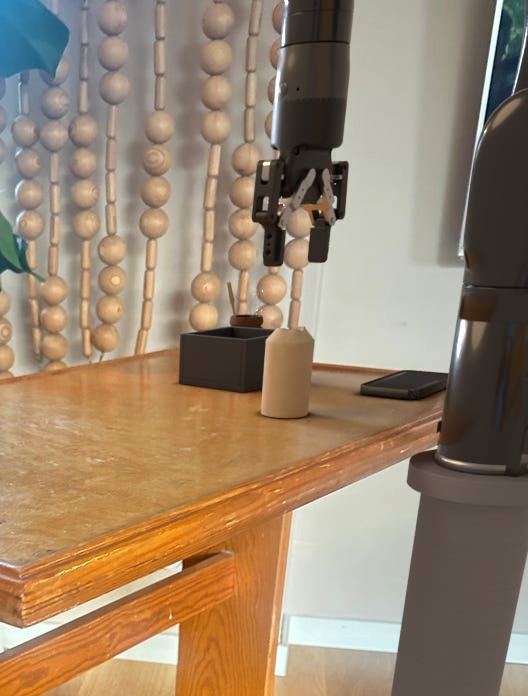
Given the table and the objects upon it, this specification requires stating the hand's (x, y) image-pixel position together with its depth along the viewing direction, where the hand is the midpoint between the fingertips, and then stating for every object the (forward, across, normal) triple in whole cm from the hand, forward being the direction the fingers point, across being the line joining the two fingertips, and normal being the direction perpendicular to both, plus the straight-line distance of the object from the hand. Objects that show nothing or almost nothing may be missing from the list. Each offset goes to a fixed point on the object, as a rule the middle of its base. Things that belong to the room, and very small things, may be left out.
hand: (295, 264), depth 103 cm
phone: (+17, +24, -3) cm, 29 cm away
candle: (+17, 0, 0) cm, 17 cm away
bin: (+17, +14, +18) cm, 28 cm away
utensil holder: (+17, +30, +29) cm, 45 cm away
